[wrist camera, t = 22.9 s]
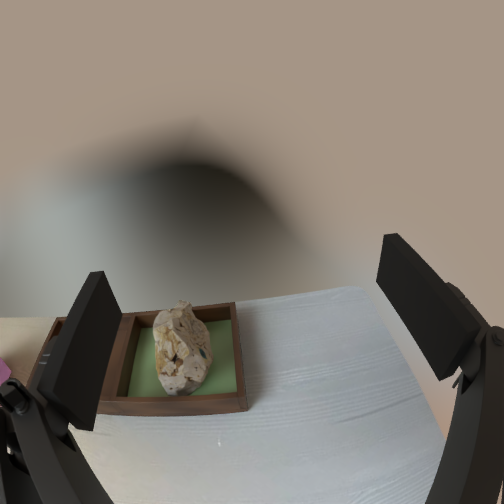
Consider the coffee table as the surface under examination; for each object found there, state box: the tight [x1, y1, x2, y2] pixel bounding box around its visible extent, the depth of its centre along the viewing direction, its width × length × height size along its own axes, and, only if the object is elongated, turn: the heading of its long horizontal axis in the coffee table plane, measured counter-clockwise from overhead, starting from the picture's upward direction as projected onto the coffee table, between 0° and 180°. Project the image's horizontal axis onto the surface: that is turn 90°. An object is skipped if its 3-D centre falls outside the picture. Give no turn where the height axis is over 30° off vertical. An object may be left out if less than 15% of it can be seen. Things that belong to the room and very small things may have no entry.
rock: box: [153, 300, 214, 397], centre depth 36 cm, size 12×7×10 cm, turn 0°
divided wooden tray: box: [25, 302, 248, 416], centre depth 37 cm, size 32×17×4 cm, turn 96°
